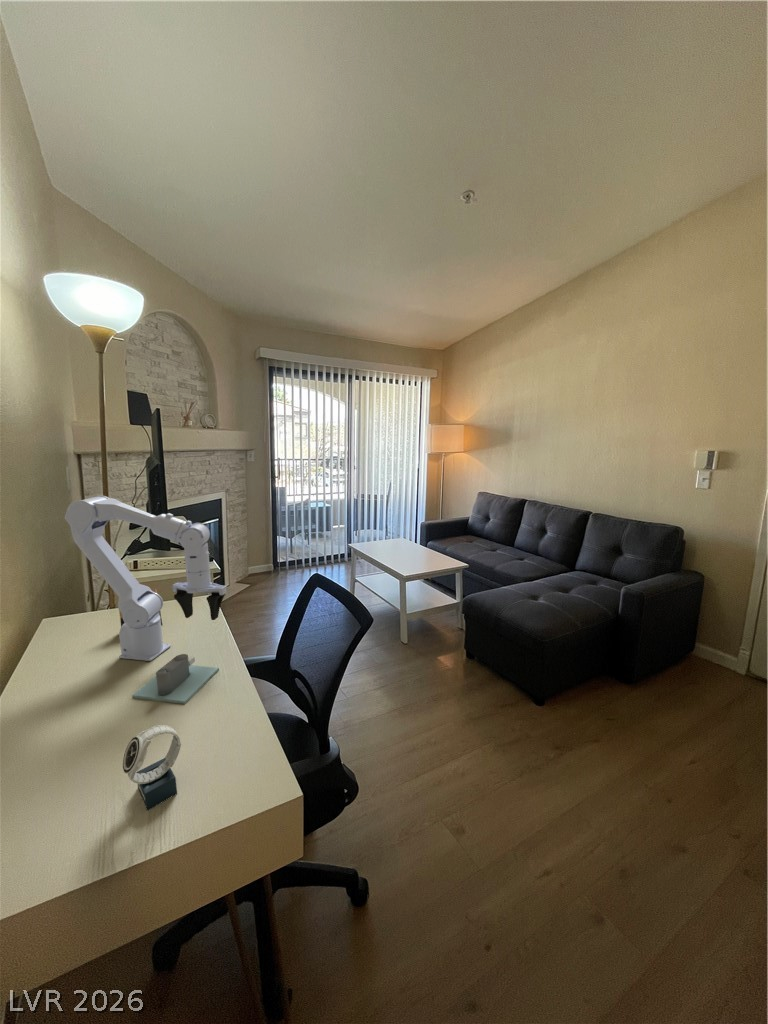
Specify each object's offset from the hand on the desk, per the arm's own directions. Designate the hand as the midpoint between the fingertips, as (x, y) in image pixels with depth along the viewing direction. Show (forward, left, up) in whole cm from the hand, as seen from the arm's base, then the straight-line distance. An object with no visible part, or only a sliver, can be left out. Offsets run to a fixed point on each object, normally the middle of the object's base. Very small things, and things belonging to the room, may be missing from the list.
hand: (201, 617), depth 106 cm
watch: (+19, -42, -10) cm, 47 cm away
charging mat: (+3, -15, -9) cm, 18 cm away
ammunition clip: (-26, +8, -10) cm, 29 cm away
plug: (+3, -16, -9) cm, 19 cm away
